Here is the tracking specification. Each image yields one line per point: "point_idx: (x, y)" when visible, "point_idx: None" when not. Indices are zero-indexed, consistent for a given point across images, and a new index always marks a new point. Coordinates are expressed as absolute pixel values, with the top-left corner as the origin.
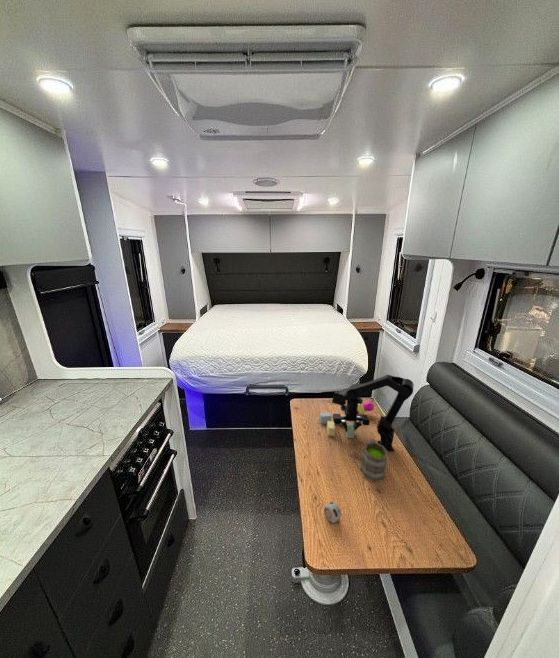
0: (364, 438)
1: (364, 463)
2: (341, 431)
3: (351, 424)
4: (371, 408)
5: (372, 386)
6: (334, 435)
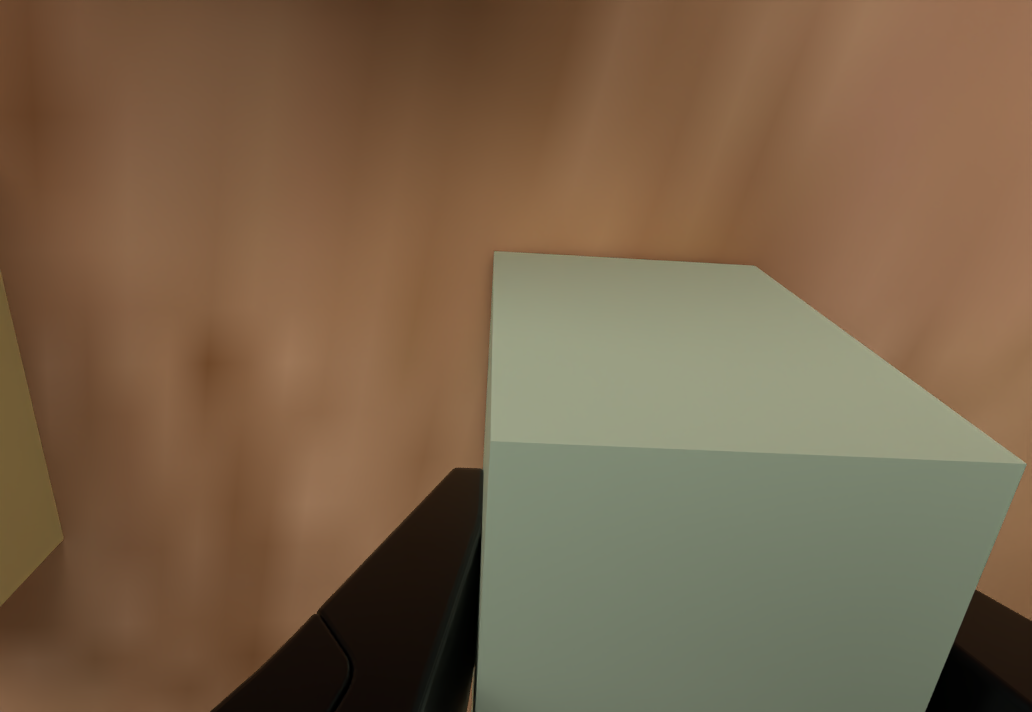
0: (1018, 609)
1: None
2: (338, 315)
3: (884, 615)
4: None
5: None
6: (44, 551)
